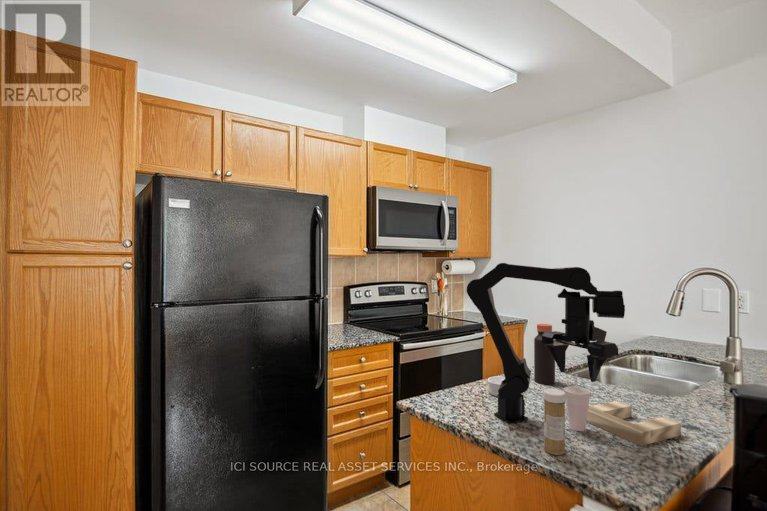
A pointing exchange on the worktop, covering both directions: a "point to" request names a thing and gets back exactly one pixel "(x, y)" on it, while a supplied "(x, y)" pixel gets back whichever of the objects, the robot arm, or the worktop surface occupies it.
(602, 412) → the slot board
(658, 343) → the worktop surface
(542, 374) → the vinegar
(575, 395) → the smoothie
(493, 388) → the ramekin
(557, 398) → the sprinkles bottle
